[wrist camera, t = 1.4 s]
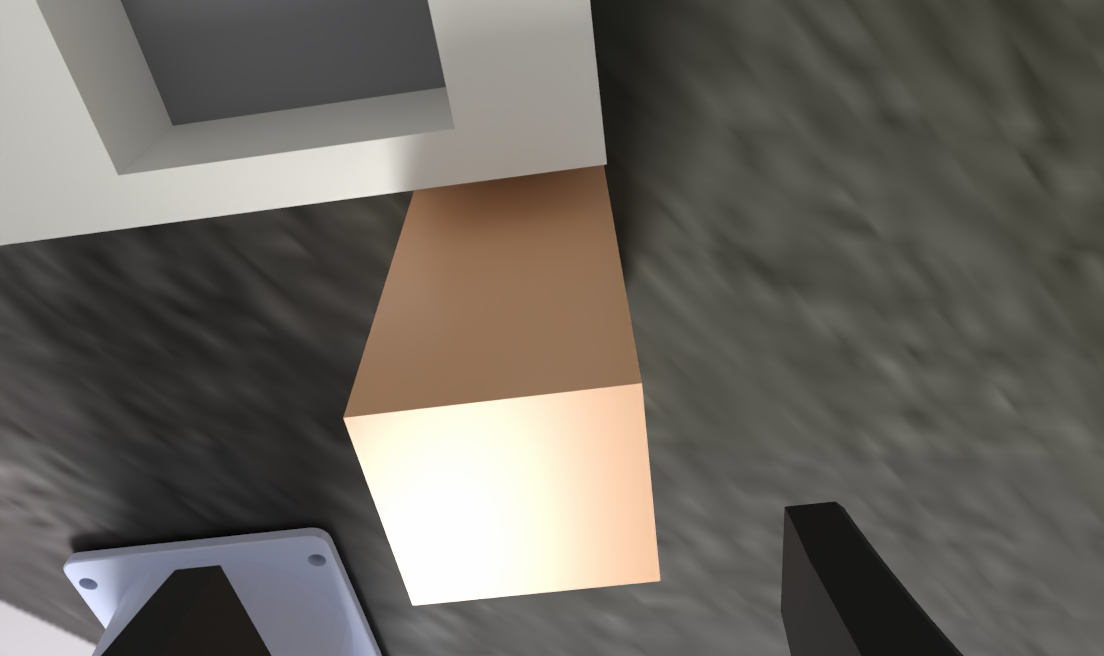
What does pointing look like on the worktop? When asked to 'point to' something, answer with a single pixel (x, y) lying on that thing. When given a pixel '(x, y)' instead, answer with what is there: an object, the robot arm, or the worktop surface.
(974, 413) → the worktop surface
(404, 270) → the plug
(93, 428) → the worktop surface
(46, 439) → the worktop surface
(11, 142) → the white compartment tray
